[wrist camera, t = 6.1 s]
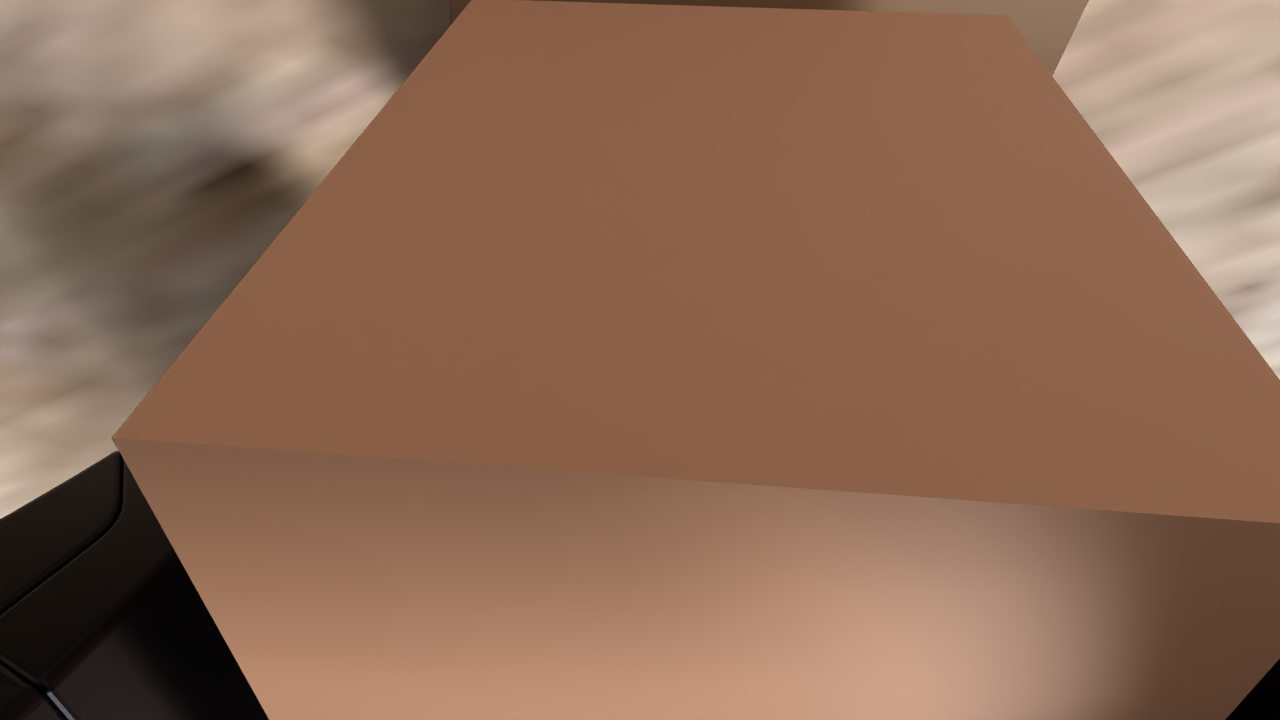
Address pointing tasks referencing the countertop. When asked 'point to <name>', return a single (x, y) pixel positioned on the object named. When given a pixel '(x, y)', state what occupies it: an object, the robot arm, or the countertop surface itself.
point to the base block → (1034, 3)
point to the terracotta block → (725, 395)
